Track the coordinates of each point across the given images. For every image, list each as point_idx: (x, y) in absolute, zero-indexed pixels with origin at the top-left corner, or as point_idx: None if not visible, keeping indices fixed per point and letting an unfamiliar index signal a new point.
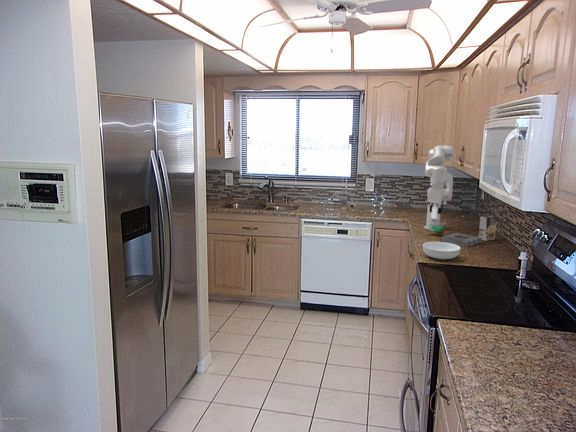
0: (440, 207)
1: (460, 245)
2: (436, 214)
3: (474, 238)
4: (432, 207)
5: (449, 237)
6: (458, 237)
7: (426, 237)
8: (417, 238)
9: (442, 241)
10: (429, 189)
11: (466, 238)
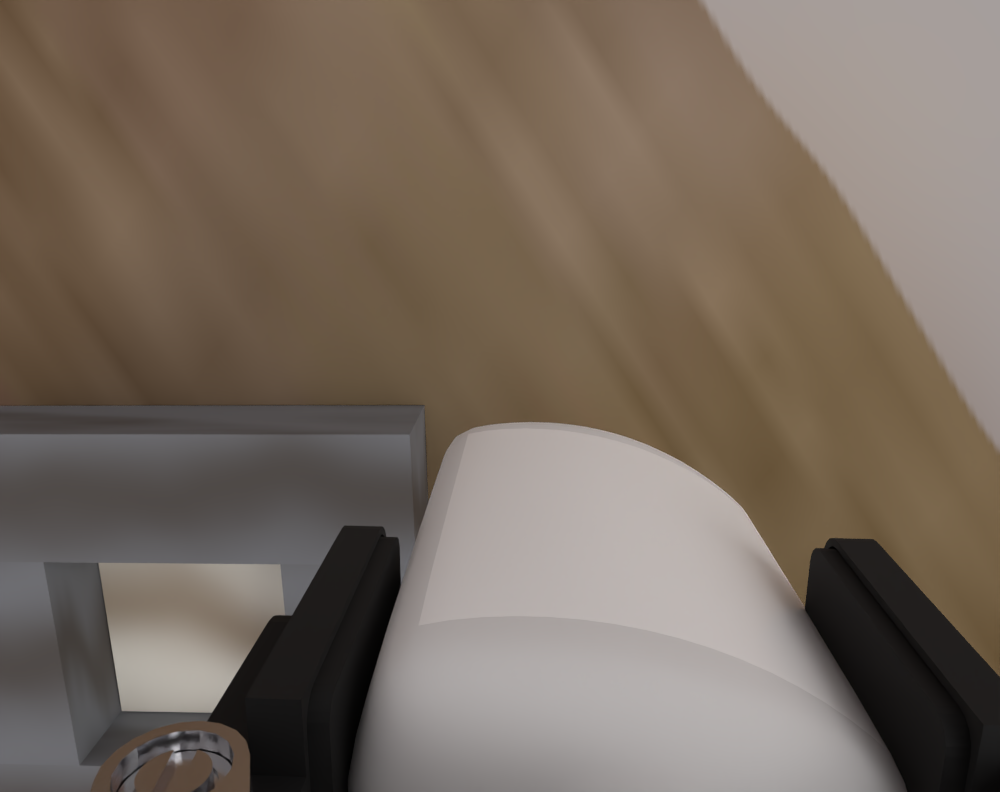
0: (122, 747)
1: (73, 406)
2: (454, 490)
3: (6, 742)
4: (825, 733)
5: (280, 471)
6: None
7: (778, 455)
8: (854, 244)
9: (412, 406)
10: None
11: None
